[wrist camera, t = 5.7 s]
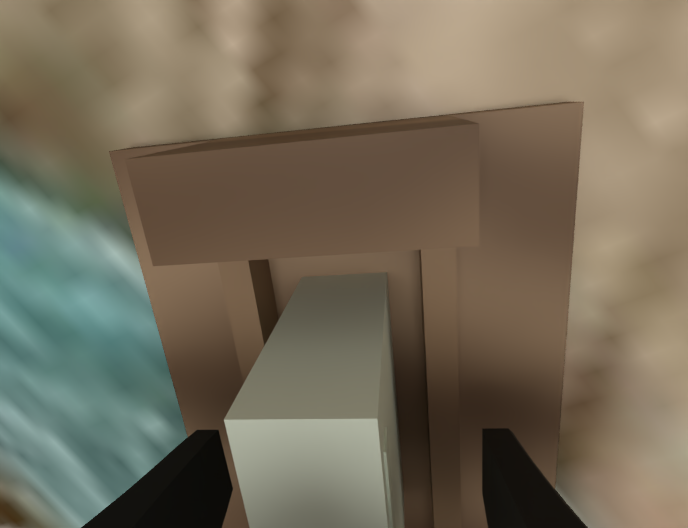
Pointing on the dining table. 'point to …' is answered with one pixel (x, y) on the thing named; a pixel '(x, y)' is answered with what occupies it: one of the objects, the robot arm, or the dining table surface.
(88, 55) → the dining table surface
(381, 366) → the door panel
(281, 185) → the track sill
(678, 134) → the dining table surface
